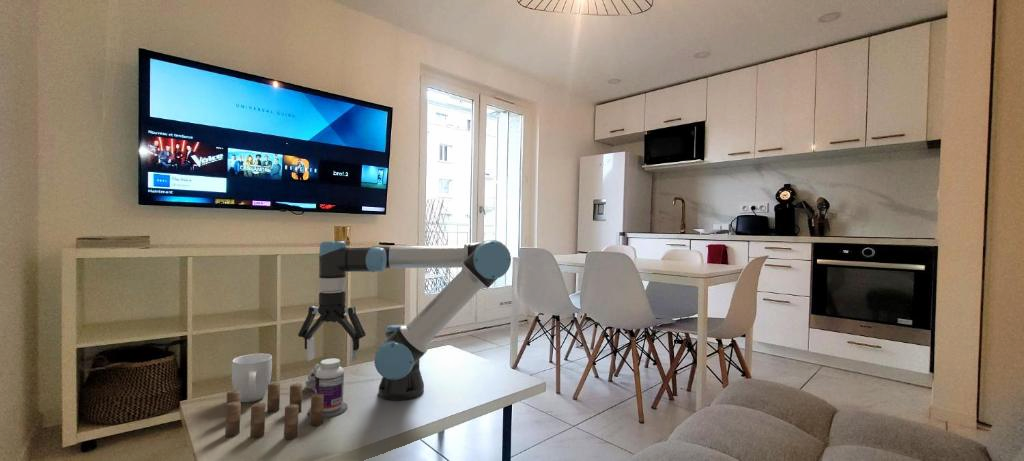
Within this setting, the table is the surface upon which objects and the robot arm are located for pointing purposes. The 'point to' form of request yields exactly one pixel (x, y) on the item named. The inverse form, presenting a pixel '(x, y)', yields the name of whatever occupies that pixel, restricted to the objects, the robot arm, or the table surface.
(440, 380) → the table surface
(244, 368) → the mug
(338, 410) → the coaster
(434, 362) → the table surface
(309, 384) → the figurine
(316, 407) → the dowel posts
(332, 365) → the pill bottle
